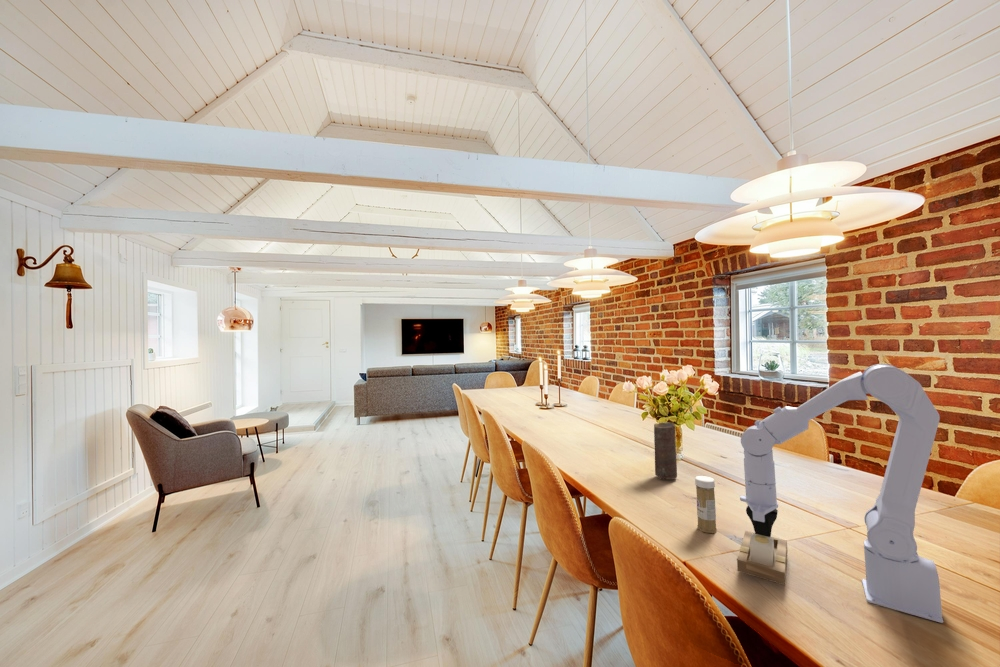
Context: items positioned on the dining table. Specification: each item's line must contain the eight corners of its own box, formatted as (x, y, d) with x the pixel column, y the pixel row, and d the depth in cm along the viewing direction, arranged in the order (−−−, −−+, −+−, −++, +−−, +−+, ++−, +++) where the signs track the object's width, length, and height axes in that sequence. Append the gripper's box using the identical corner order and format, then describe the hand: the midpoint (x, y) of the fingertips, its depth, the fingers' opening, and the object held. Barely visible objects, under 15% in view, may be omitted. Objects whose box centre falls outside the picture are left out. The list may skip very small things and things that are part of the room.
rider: (753, 551, 84) (751, 530, 85) (774, 556, 82) (773, 535, 82) (750, 561, 81) (749, 540, 81) (773, 567, 78) (771, 545, 78)
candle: (681, 482, 133) (678, 425, 134) (660, 482, 133) (657, 426, 134) (671, 474, 141) (669, 421, 141) (652, 475, 141) (649, 421, 141)
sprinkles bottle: (693, 526, 101) (691, 475, 102) (709, 524, 102) (707, 474, 102) (704, 534, 97) (701, 481, 97) (721, 533, 97) (718, 480, 98)
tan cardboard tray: (746, 545, 91) (745, 529, 91) (787, 556, 86) (786, 539, 86) (738, 576, 79) (737, 558, 79) (785, 591, 74) (784, 571, 74)
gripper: (742, 468, 93) (746, 524, 92) (734, 486, 82) (738, 550, 81) (778, 473, 88) (781, 532, 88) (774, 494, 77) (778, 561, 77)
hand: (763, 541), depth 84 cm, fingers closed
